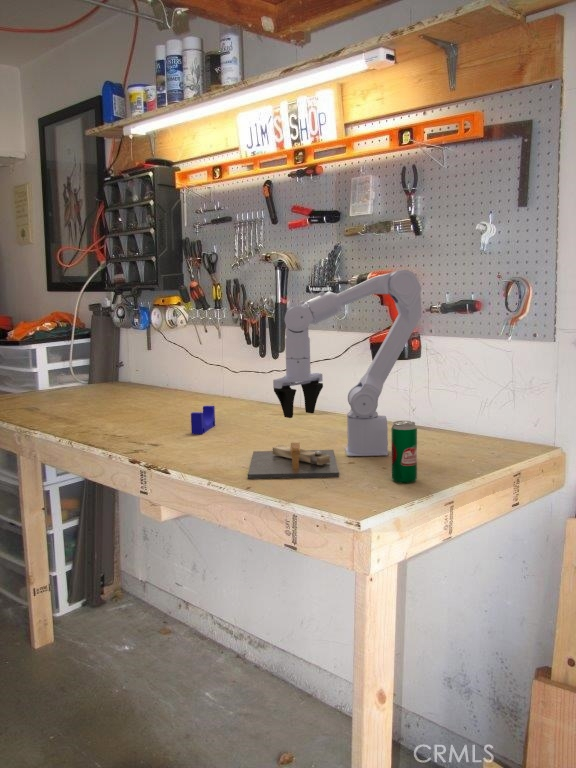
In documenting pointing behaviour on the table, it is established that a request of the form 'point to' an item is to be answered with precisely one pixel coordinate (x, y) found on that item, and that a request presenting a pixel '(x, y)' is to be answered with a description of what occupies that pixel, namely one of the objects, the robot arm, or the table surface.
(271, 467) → the base plate
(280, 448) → the link
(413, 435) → the soda can
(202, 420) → the blue u-shaped block
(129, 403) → the table surface
